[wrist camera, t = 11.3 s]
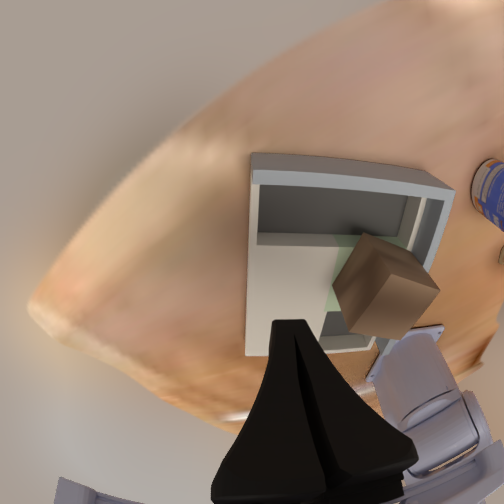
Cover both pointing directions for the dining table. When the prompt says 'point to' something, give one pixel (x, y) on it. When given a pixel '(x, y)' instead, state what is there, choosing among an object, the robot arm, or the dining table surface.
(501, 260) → the grandmother figurine
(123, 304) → the dining table surface
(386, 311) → the walnut block
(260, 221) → the board
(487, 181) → the pill bottle
